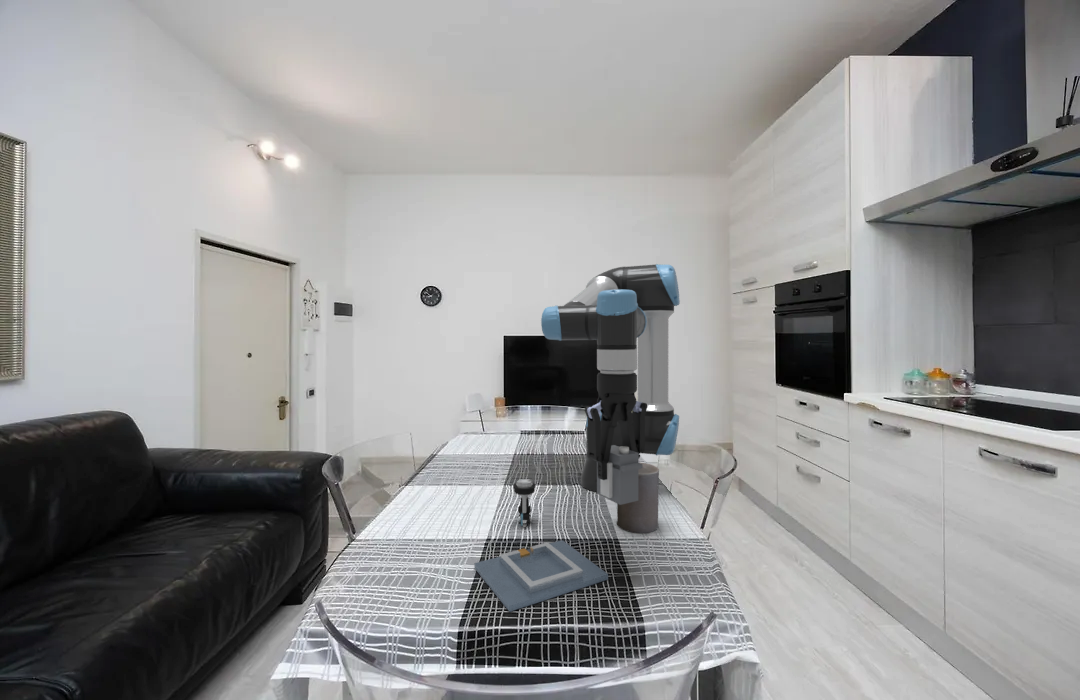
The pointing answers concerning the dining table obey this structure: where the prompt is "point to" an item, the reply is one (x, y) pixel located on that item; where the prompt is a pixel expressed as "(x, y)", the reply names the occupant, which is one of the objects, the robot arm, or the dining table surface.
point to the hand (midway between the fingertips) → (617, 492)
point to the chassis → (538, 574)
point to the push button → (524, 499)
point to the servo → (623, 475)
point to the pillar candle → (642, 503)
